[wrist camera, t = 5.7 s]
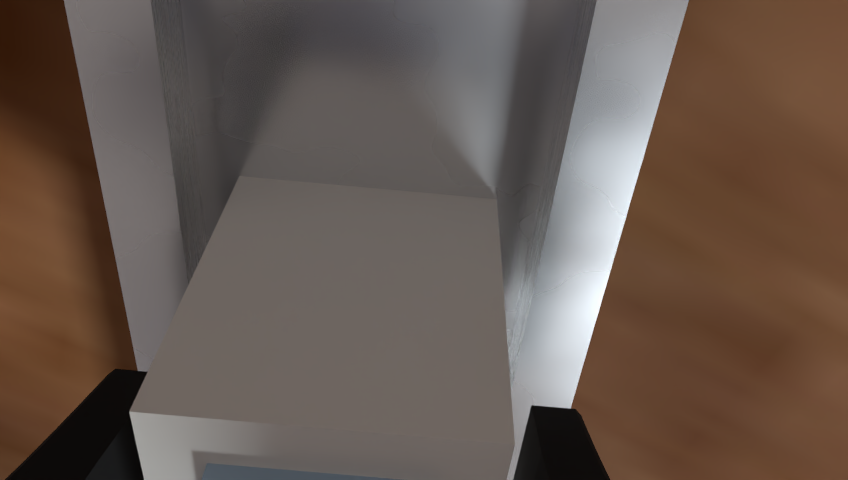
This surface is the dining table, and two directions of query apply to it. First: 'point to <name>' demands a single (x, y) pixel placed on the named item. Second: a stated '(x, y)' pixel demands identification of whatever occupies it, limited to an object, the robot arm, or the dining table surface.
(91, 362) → the dining table surface
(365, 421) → the block
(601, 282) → the rail
